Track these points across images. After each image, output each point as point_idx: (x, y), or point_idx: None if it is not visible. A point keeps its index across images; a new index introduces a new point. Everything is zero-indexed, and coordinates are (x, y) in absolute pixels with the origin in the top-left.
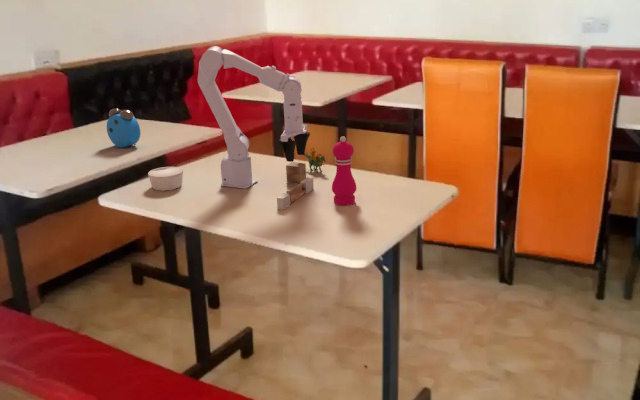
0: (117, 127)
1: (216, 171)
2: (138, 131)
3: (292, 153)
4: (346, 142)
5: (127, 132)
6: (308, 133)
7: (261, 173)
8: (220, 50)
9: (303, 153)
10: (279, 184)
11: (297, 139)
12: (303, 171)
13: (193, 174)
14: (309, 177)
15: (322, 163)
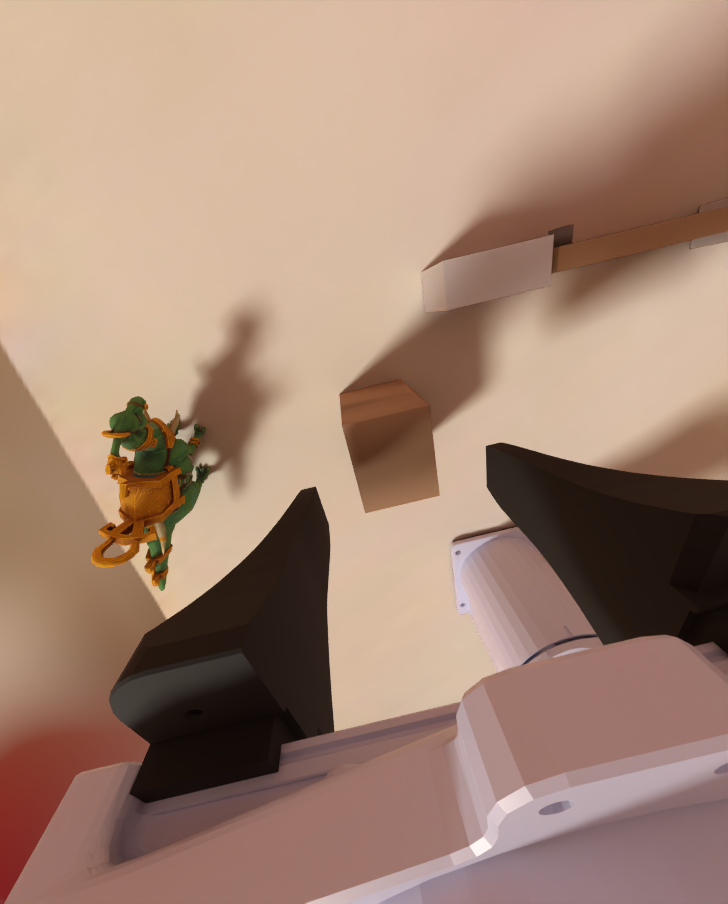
0: None
1: (420, 674)
2: None
3: (571, 462)
4: None
5: None
6: (187, 666)
7: (365, 589)
8: None
9: (314, 492)
10: (441, 461)
11: (319, 647)
12: (372, 403)
13: (468, 688)
14: (447, 291)
15: (155, 420)
